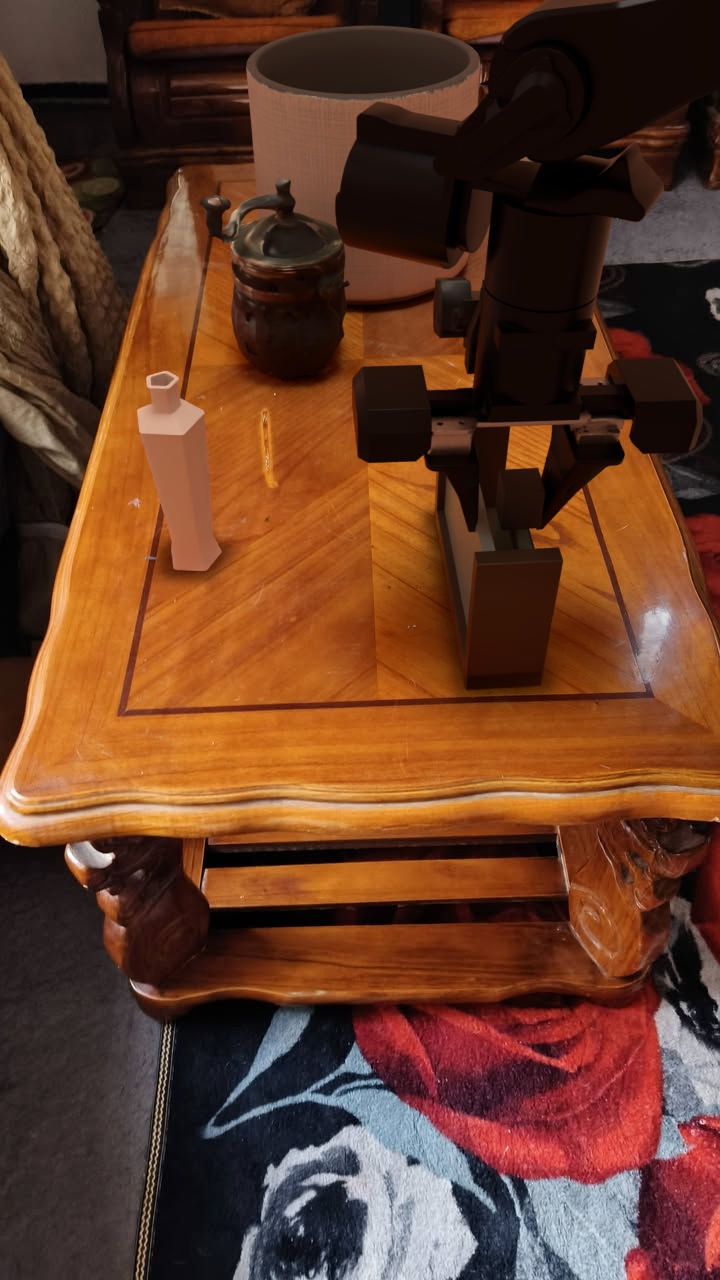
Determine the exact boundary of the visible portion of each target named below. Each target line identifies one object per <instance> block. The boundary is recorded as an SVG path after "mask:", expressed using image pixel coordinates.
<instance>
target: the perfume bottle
mask: <svg viewBox="0 0 720 1280" xmlns="http://www.w3.org/2000/svg"><path fill="white" fill-rule="evenodd" d="M179 380H180V377H179V376H178V375H175V374H174V373H172V372H171V371H168V370H162V371H160V372H156V373H153V374H150V375H147V376H146V378H145V381H146V382H145V383H146V388H147V389H149V393H150V399H151V403H149V404H147V405H144V406H142V407H139V408H138V409H137V410H136V414H137V422H138V432H139V435H140V439H141V442H142V445H143V446H142V447H143V449H144V451H145V455H146V459H147V463H148V466H149V469H150V472H151V476H152V479H153V482H154V487H155V489H156V493H157V496H158V500H159V503H160V507H161V509H162V513H163V516H164V519H165V523H166V527H167V530H168V532H169V536H170V540H171V547H170V549H171V550H170V552H171V559H172V560H171V561H172V568H173V570H176V571H188V572H189V571H190V572H191V571H192V572H206V571H208V570H209V569H210V568H211V566H212V565H213V564H214V562H216V561H217V559H218V558H219V556H220V555H221V554H222V551H223V550H222V549H221V547H220V545H219V543H218V542H217V540H216V538H215V535H214V534H215V533H214V522H213V509H212V495H211V480H210V468H209V452H208V440H207V439H208V438H207V427H206V426H207V425H206V413H205V410H203V409H202V408H200V407H198V406H196V405H194V404H192V403H191V402H189V401H187V400H185V399H183V398H181V393H180V389H179V384H178V382H179Z"/></svg>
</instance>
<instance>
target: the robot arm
mask: <svg viewBox="0 0 720 1280" xmlns="http://www.w3.org/2000/svg"><path fill="white" fill-rule="evenodd" d="M487 76H488V77H487V82H486V83H487V94H486V96H485V97H484V98H482V100H481V101H480V102H479V103H478V106H477V108H476V109H475V110H474V111H473V112H472V113H471V114H470V115H469V116H467V117H466V118H465V119H464V120H463V121H459V120H453V119H447V118H442V117H436V116H431V115H425V114H419V113H415V112H411V111H409V110H407V109H405V108H402V107H400V106H398V105H394V104H389V103H383V102H376V103H374V104H373V105H371V106H370V107H368V108H367V109H366V110H364V111H363V112H361V113H360V114H359V115H358V116H357V118H356V140H355V142H354V144H353V146H352V148H351V150H350V152H349V155H348V158H347V161H346V164H345V167H344V171H343V175H342V180H341V185H340V191H339V192H338V193H337V194H336V198H335V216H336V225H337V229H338V233H339V236H340V237H341V239H342V241H343V243H345V244H346V245H347V246H349V247H353V248H357V249H362V250H366V251H370V252H375V253H379V254H383V255H387V256H392V257H396V258H400V259H405V260H409V261H413V262H418V263H422V264H426V265H430V266H435V267H439V268H443V269H450V268H452V267H454V266H455V265H456V264H457V263H458V261H459V260H460V258H461V257H462V255H463V254H464V252H469V254H474V253H476V252H478V250H479V248H480V247H481V246H482V244H483V243H484V240H485V238H486V236H487V234H488V238H487V247H486V258H485V264H484V265H485V266H484V267H485V268H484V276H483V277H484V278H483V279H482V280H481V281H482V282H481V286H480V288H479V289H480V290H472V282H471V281H470V280H469V279H467V278H466V277H464V276H462V277H461V276H460V277H459V276H455V277H454V278H436V280H435V290H434V291H433V293H434V294H433V304H432V306H433V307H432V311H433V312H432V325H433V327H432V328H433V333H435V335H436V336H437V337H438V338H439V339H462V347H463V348H464V350H465V352H464V362H463V363H464V368H465V371H466V374H467V375H473V380H472V381H473V382H472V387H457V388H455V389H453V388H451V389H450V388H449V389H448V388H447V389H428V387H427V382H426V377H425V371H424V367H423V364H403V365H402V364H400V365H369V366H368V365H365V366H361V368H360V369H359V370H358V371H357V372H356V373H355V374H354V375H353V376H352V380H351V383H352V384H351V408H352V417H353V426H354V428H353V429H354V438H355V445H356V455H357V458H358V459H360V460H362V461H364V462H365V463H367V464H387V463H414V462H415V463H416V462H417V461H419V460H420V459H421V458H422V457H423V461H424V465H425V468H426V469H427V470H429V471H430V472H434V473H436V472H444V473H445V474H446V476H447V478H448V480H449V481H450V483H451V485H452V487H453V489H454V490H455V492H456V494H457V496H458V499H459V502H460V505H461V508H462V512H463V515H464V519H465V522H466V526H467V529H468V532H475V528H476V524H477V522H478V510H479V474H480V463H479V459H478V455H477V451H476V447H475V444H474V440H473V436H472V435H473V433H474V430H475V428H478V427H507V426H510V427H534V426H551V433H550V436H551V437H550V441H549V445H548V449H547V452H546V453H547V454H546V457H545V461H544V465H543V469H542V473H541V478H542V482H543V485H544V488H545V491H546V494H545V500H544V507H543V513H542V520H541V526H540V528H535V530H538V531H542V530H544V529H545V528H546V526H548V524H549V523H550V522H551V521H553V519H554V518H555V517H556V516H557V514H559V513H560V511H561V510H562V509H563V508H564V507H565V506H566V505H567V504H568V503H569V502H570V500H572V499H573V497H574V496H575V495H576V494H578V492H580V491H581V490H582V489H583V488H585V486H586V485H587V484H589V483H590V482H592V481H593V480H594V479H595V478H596V477H598V475H599V474H601V473H602V472H603V471H604V470H605V469H606V468H609V467H616V466H620V465H622V464H623V463H624V460H625V456H626V453H625V450H624V448H623V445H622V443H621V441H620V435H621V430H623V429H624V425H625V421H631V426H630V430H629V433H628V438H629V440H630V442H631V444H632V445H633V446H634V447H635V449H637V450H638V451H639V452H640V453H641V454H642V455H651V454H653V455H654V454H657V455H658V454H681V453H682V454H683V453H685V454H687V453H689V452H691V451H692V450H693V449H694V448H695V447H696V445H697V442H698V439H699V435H700V432H701V428H702V426H703V422H704V415H703V404H702V403H701V401H700V399H699V398H698V396H697V394H696V392H695V390H694V389H693V387H692V385H691V383H690V382H689V380H688V378H687V376H686V374H685V373H684V371H683V369H682V368H681V366H680V365H679V364H678V362H677V361H676V359H674V358H673V357H648V358H645V357H643V358H615V359H613V360H612V361H611V362H609V363H608V364H607V366H606V370H605V375H604V376H599V377H598V376H596V377H582V375H583V371H584V365H585V360H586V355H587V351H593V350H594V349H595V344H596V339H597V333H598V330H597V327H596V325H595V323H594V321H593V320H594V314H595V309H596V304H597V299H598V295H599V290H600V289H599V288H600V284H601V279H602V272H603V268H604V262H605V257H606V252H607V248H608V242H609V238H610V232H611V227H612V222H613V219H617V220H622V221H627V222H632V223H639V222H641V221H642V220H644V219H645V217H646V216H647V215H648V213H649V212H650V211H651V210H652V208H653V207H654V205H655V204H656V203H657V201H658V200H659V199H660V197H661V196H662V194H663V192H665V191H664V190H665V186H664V182H663V180H662V179H661V178H659V176H658V175H657V173H656V172H655V171H654V170H653V169H652V168H651V166H650V165H648V164H647V162H646V160H645V159H644V157H643V154H642V152H641V148H640V146H639V144H637V143H630V144H629V145H628V146H627V147H626V148H625V149H624V150H623V151H622V152H620V153H619V154H617V155H616V156H614V157H612V158H609V159H608V158H602V157H597V156H592V155H588V154H590V153H592V152H595V151H597V150H599V149H601V148H603V147H606V146H608V145H610V144H613V143H614V142H617V141H620V140H621V139H624V138H627V137H629V136H631V135H633V134H635V133H637V132H639V131H642V130H643V129H645V128H647V127H648V126H651V125H652V124H654V123H656V122H658V121H660V120H662V119H664V118H665V117H667V116H669V115H671V114H672V113H675V112H676V111H678V110H680V109H682V108H683V107H685V106H687V105H689V104H691V103H692V102H695V101H697V100H699V99H701V98H704V97H706V96H709V95H710V94H712V93H715V92H717V91H719V90H720V0H544V1H542V2H541V3H540V4H538V5H537V6H536V7H534V8H533V9H531V10H530V11H529V12H527V13H526V14H524V15H523V16H521V18H519V19H517V20H516V21H514V23H513V24H512V25H511V26H510V27H508V29H507V30H506V31H504V33H502V35H501V38H500V40H499V43H498V44H497V46H496V49H495V50H494V52H493V55H492V57H491V59H490V66H489V70H488V75H487ZM525 158H527V159H528V160H523V159H525Z"/></svg>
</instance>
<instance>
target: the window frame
mask: <svg viewBox="0 0 720 1280" xmlns="http://www.w3.org/2000/svg"><path fill="white" fill-rule="evenodd" d="M510 434H511V426H507V427H478V428H475V430H474V433H473V435H472V436H473V440H474V444H475V447H476V451H477V455H478V459H479V463H480V474H479V510H478V522H477V524H476V528H475V532H468V529H467V526H466V522H465V519H464V515H463V512H462V508H461V505H460V502H459V499H458V496H457V494H456V492H455V490H454V489H453V487H452V485H451V483H450V481H449V480H448V478H447V476H446V474H445V473H444V472H435V489H434V490H435V491H434V513H433V517H434V523H435V528H436V534H437V539H438V544H439V551H440V556H441V562H442V568H443V574H444V578H445V584H446V591H447V595H448V601H449V606H450V612H451V617H452V622H453V629H454V634H455V641H456V647H457V650H458V651H457V652H458V657H459V662H460V667H461V673H462V679H463V680H462V681H463V685H464V689H465V690H466V691H467V690H468V691H470V690H485V689H486V690H488V689H502V688H504V689H505V688H520V687H521V688H522V687H539V686H541V685H542V680H543V674H544V670H545V665H546V658H547V653H548V648H549V643H550V642H549V641H550V637H551V630H552V625H553V621H554V620H553V619H554V614H555V609H556V602H557V598H558V592H559V587H560V583H561V576H562V570H563V565H564V558H563V555H562V552H561V551H562V550H561V548H560V547H559V546H557V547H556V546H555V547H538V548H537V547H535V549H517V550H498V551H496V550H495V546H494V535H495V526H496V516H497V511H496V507H495V503H496V494H497V484H498V475H499V470H503V469H507V460H508V453H509V444H510V436H511V435H510Z"/></svg>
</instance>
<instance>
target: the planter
mask: <svg viewBox="0 0 720 1280" xmlns="http://www.w3.org/2000/svg"><path fill="white" fill-rule="evenodd" d="M479 55H480V54H479V53H478V52H477V51H476V50H475V48H473V47H472V46H471V45H469V44H468V43H467V42H465V41H462V40H460V39H458V38H455V37H454V36H450V35H448V34H444V33H440V32H436V31H433V30H432V31H431V30H426V29H422V28H414V27H405V26H392V25H390V26H389V25H351V26H349V25H348V26H336V27H327V28H322V29H321V28H320V29H314V30H308V31H303V32H299V33H294V34H291V35H288V36H287V35H286V36H284V37H281V38H278V39H275V40H273V41H269V43H266V44H264V45H262V46H261V47H259V48H258V49H257V50H254V52H252V53H251V55H249V57H248V59H247V61H246V65H245V66H246V68H245V69H246V79H247V80H246V81H247V91H248V92H247V93H248V102H249V103H248V104H249V113H250V123H251V124H250V125H251V137H252V138H251V139H252V148H253V161H254V174H255V187H256V197H258V196H264V195H269V194H274V193H277V190H276V187H275V184H276V181H277V179H278V178H287V179H289V180H290V181H291V185H290V193H291V195H292V196H293V197H294V199H295V201H296V204H295V207H294V209H293V212H296V213H300V214H303V215H306V216H308V217H310V218H315V219H317V220H322V221H324V222H326V223H329V224H331V225H333V226H334V227H335V228H336V229H337V225H336V216H335V198H336V194H337V193H338V192H339V191H340V185H341V180H342V175H343V171H344V167H345V164H346V161H347V158H348V155H349V152H350V150H351V148H352V146H353V144H354V142H355V140H356V118H357V116H358V115H359V114H360V113H361V112H363V111H364V110H366V109H367V108H368V107H370V106H371V105H373V104H374V103H376V102H383V103H389V104H394V105H398V106H400V107H402V108H405V109H407V110H409V111H411V112H415V113H419V114H425V115H431V116H436V117H442V118H447V119H453V120H459V121H463V120H464V119H465V118H466V117H467V116H469V115H470V114H471V113H472V112H473V111H474V110H475V109H476V108H477V106H478V105H479V91H480V90H479V88H480V74H481V73H480V72H481V71H480V70H481V57H480V56H479ZM257 213H258V220H260V219H261V218H264V217H267V216H269V215H271V214H274V213H276V212H275V211H274V210H269V209H257ZM344 246H345V269H344V282H345V281H347V280H348V282H349V283H350V285H349V286H348V287H344V289H345V296H346V302H347V306H379V305H387V304H394V303H400V302H406V301H409V300H413V299H416V298H419V297H422V296H425V295H427V294H430V293H431V292H435V280H436V278H454V277H458V275H459V274H460V273H461V272H462V270H464V268H465V266H466V265H467V262H468V260H469V257H470V253H469V252H464V254H463V255H462V257H461V258H460V260H459V261H458V263H457V264H456V265H455V266H454V267H452V268H450V269H443V268H439V267H435V266H430V265H426V264H422V263H418V262H413V261H409V260H405V259H400V258H396V257H392V256H387V255H383V254H379V253H375V252H370V251H366V250H362V249H357V248H353V247H349V246H347V245H346V244H345V243H344Z"/></svg>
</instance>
